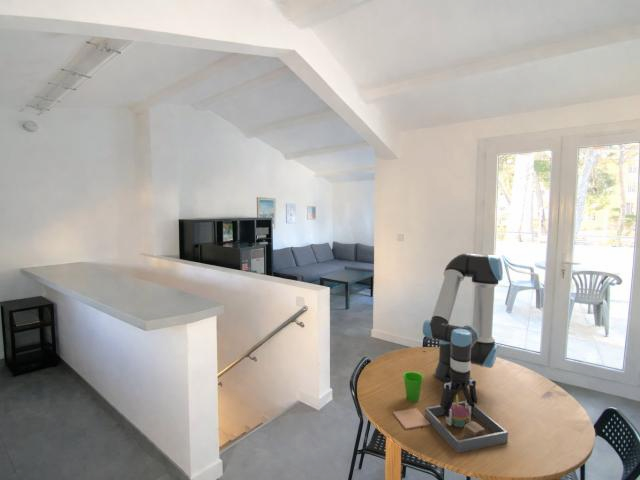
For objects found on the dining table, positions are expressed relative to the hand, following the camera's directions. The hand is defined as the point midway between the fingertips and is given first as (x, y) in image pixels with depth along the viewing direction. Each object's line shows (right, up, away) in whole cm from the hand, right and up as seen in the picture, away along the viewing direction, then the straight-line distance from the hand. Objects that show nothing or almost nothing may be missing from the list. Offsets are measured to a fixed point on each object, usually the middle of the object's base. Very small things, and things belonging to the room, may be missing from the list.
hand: (458, 421), depth 139 cm
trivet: (-18, -1, +3) cm, 19 cm away
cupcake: (0, -1, 0) cm, 1 cm away
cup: (-14, +1, +18) cm, 22 cm away
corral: (+1, -1, -3) cm, 4 cm away
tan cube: (+2, -2, -9) cm, 10 cm away
